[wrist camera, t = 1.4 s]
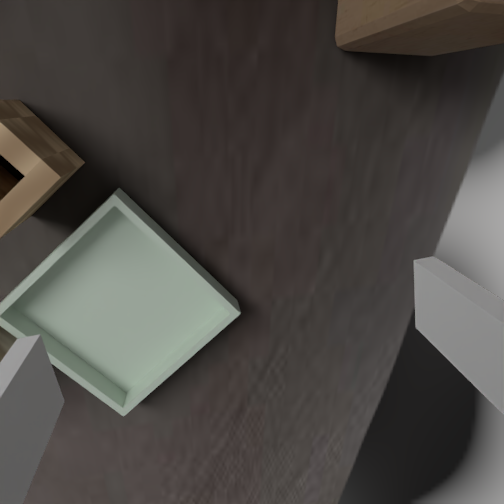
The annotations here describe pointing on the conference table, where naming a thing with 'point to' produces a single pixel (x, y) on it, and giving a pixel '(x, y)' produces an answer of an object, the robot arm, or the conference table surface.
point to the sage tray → (119, 304)
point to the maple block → (5, 342)
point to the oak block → (29, 164)
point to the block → (418, 25)
